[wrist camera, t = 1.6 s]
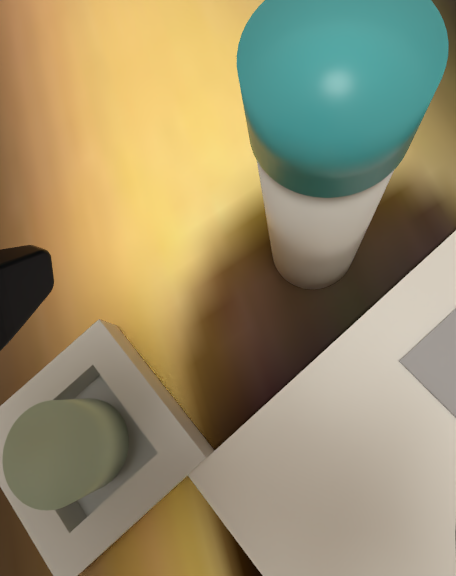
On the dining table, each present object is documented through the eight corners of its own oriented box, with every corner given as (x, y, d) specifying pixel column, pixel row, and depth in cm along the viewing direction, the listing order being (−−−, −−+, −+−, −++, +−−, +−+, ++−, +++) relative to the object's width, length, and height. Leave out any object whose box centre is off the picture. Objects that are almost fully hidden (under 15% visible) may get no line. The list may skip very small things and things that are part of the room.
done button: (77, 511, 18) (37, 534, 15) (30, 438, 19) (-16, 446, 17) (146, 449, 19) (118, 460, 16) (95, 380, 20) (61, 378, 17)
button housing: (85, 569, 19) (61, 589, 17) (-2, 429, 21) (-32, 434, 19) (214, 450, 19) (206, 457, 18) (116, 325, 22) (99, 319, 20)
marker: (310, 308, 20) (336, 182, 8) (253, 250, 22) (197, 57, 9) (373, 251, 21) (496, 39, 8) (313, 196, 22) (339, -65, 9)
